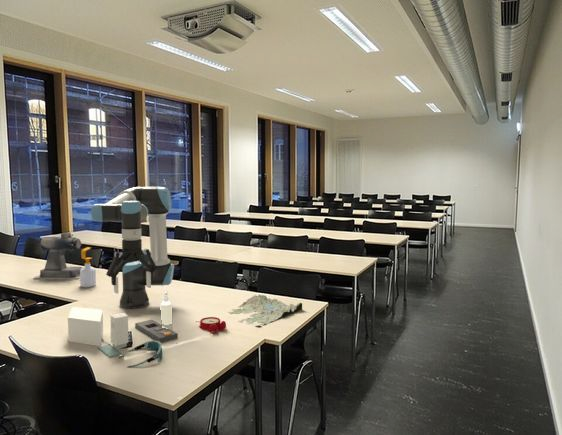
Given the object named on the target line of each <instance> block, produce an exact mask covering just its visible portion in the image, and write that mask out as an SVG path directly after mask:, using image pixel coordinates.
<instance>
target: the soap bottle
mask: <svg viewBox="0 0 562 435" xmlns="http://www.w3.org/2000/svg"><path fill="white" fill-rule="evenodd" d="M91 249H92V247H89V246H87V247H85V248H83V249H81V250H80V251H81V252H80V253H81V259H82V260H84V261H85V262H84V266H83V267H82V269H81V270H80V279H79V284H80V287H81V288H91V287H95V286H96V285H97V276H96V275H97V274H96V272H97V271H96V268H95V267H93V266H91V262H90V261H91V260H93V257H86V254H87V251H88V250H91Z"/></svg>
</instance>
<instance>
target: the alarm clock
mask: <svg viewBox="0 0 562 435" xmlns="http://www.w3.org/2000/svg"><path fill="white" fill-rule="evenodd" d="M195 322H196V323H198V321H195ZM199 329H200V330H204V331H208V332H210V333H211V334H216V333H217V332H219V331H225V330H226V329H227V323H226V321H224V320H222V321H221V318H219V317H216V316H214V317H213V316H207V317H203V318H201V319H200V321H199Z"/></svg>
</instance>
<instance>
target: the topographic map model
mask: <svg viewBox="0 0 562 435" xmlns="http://www.w3.org/2000/svg"><path fill="white" fill-rule="evenodd" d="M300 310H301V311H302V310H303V303H302V302H299V303H297V304H294V303H293V304H292V303H290V304H289V305H287V304H286V303H284V302H283V301H281V300H278V299H277V298H273V299H272V298H268V297H267V296H266V295H264V294H258V295H253V296H251V298H250V297H249V298H247V299H246V301H244V302H242V304H241V305H239V306H237V308H231V311H227V313H228V314H230V315H233V314H234V315H240V314H243V315H244V314H245V315H246V314H247V315H248V314H249V317H246V318H243V319H241V320H237V321H238V322H237V323H241V324H242V323H244V322H245V324H247V325H253V326H254V325H255V324H254V323H257V324H258V325H255V326H254V327H256V328H261V327H263V326H267V325H268V324H271V323H273V322H276V321H278V320H280V319H283V318H286V317H288V316H290V315H294V314H297V313H298V312H301V311H300ZM250 313H252V314H250ZM259 324H260V325H259Z"/></svg>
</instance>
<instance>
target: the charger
mask: <svg viewBox="0 0 562 435" xmlns="http://www.w3.org/2000/svg"><path fill="white" fill-rule="evenodd" d="M110 343H112V347H113V348H115V349H116V350H118V349H122V348H126V347H127V346H128V345H127V344H128V343H129V316H128V314H126V313H124V312H121V313H115V314H110Z"/></svg>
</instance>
